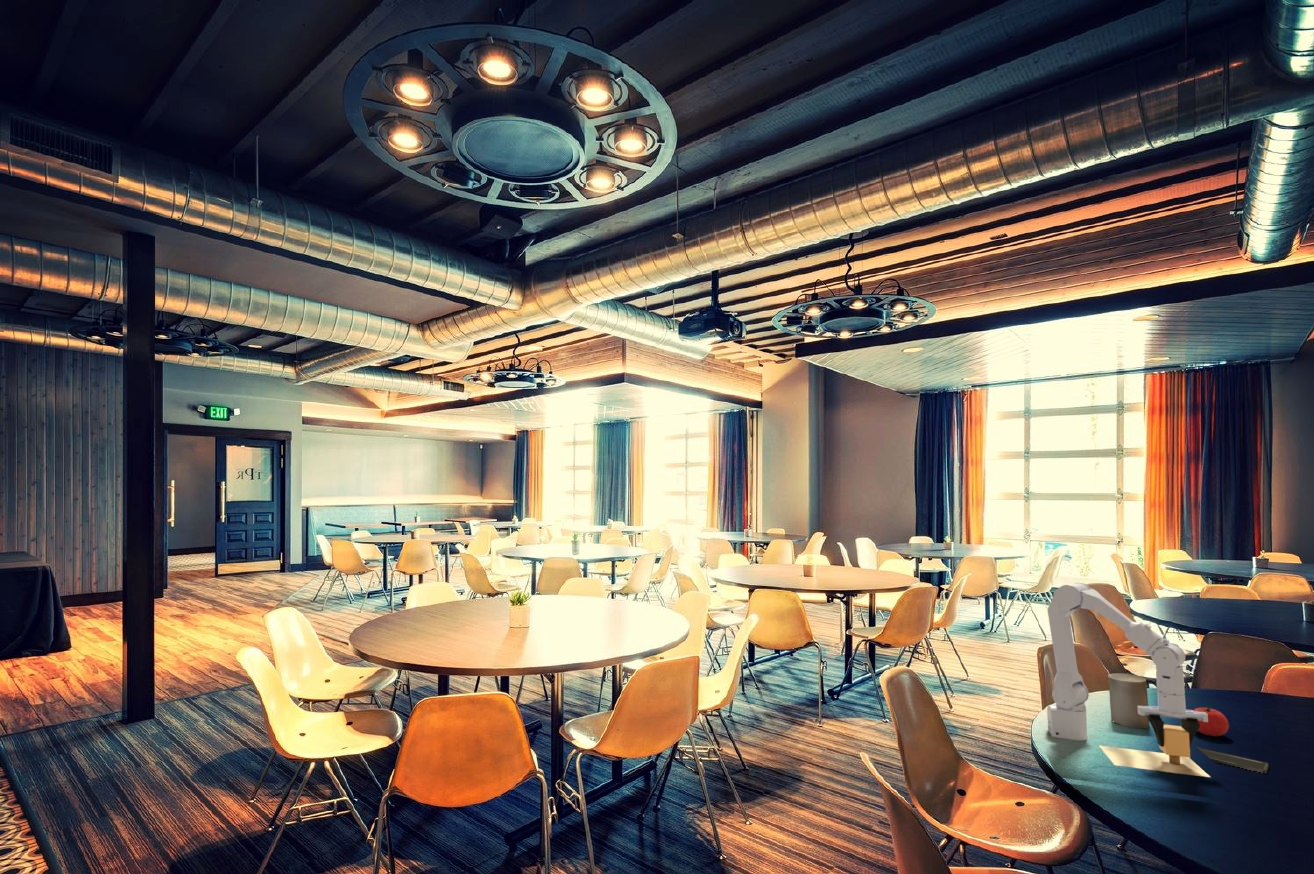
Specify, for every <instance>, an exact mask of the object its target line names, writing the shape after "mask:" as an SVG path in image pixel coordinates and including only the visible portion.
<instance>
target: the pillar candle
mask: <svg viewBox="0 0 1314 874" xmlns="http://www.w3.org/2000/svg"><path fill="white" fill-rule="evenodd" d="M1107 676H1108V688H1109V690H1108V691H1109V707H1110V709H1109V710H1110V718H1111V719H1110V720H1111V722H1112V721H1114V722H1116V723H1115V724H1117V723H1118V725H1121V726H1122V725H1123V727H1126V726H1127V727H1126V728H1133V729H1146V728H1150V725H1151V724H1150V721H1149V720H1148V718H1147V716H1146V715H1145V716H1142V715H1140V714H1138V709H1137V706H1149V698H1148V686H1147V685H1148V684H1147V679H1146V678H1145V677H1142V676H1139V675H1135V674H1131V673H1109V674H1108V675H1107ZM1114 722H1113V723H1114Z"/></svg>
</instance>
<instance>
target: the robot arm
mask: <svg viewBox="0 0 1314 874" xmlns="http://www.w3.org/2000/svg"><path fill="white" fill-rule="evenodd" d="M1047 607H1048V608H1047V615H1048V622H1049V629H1050V634H1051V643H1052V648H1053V655H1054V661H1055V663H1054V664H1055V669H1056V673H1055V675H1054V676H1055V677H1054V679H1053V689H1052V692H1051V694H1052V699H1053V701H1054V702H1055V704H1048V705H1047V712H1046V713H1047V730H1048V732H1049V734H1050V736H1051V737H1052V738H1059V739H1066V740H1071V741H1086V740H1088V728H1087V726H1088V725H1087V710H1086V709H1087V706H1086V705H1085V702H1087V701H1088V699H1089V698H1090V697H1089V696H1090V695H1089V694H1090V693H1089V689H1088V688H1087V686H1086V685H1085V682H1084V678H1083V676H1082V675H1081V673H1079V670H1078V664H1077V658H1076V657H1077V656H1076V651H1075V644H1074V638H1073V631H1072V625H1071V619H1070V618H1071V617H1070V616H1071V615H1072V614H1073V613H1074V612H1076V611H1077V610H1078V608H1080V609H1083V610H1090V611H1095V612H1097V613H1099V614H1100V615H1101V616H1103V617H1104V618H1105V619H1107V620H1109V621H1110V622H1111V623H1113V625H1116V626H1117V627H1119V629H1121V630H1123V632H1124V635H1125V638H1126V639H1127V640H1129V641H1130V642H1131V643H1132V644H1134V645H1135V646H1136V647H1138V648H1139V649H1140V650H1142V651H1143V652H1144V653H1145V654H1146V655H1147V656H1150V657H1151V661H1152V662H1153V664H1154V665H1155V670H1156V672H1155V677H1156V679H1155V680H1156V695H1157V696H1156V697H1157V699H1156V700H1157V705H1148V706H1137V709H1138V714H1140V715H1142V716H1145V715H1146V716H1147V718H1148V720H1149V724H1150V725H1151V727H1152V730H1153V731H1154V734H1155V737H1156V741H1157V744H1158V746H1159V745H1160V746H1162V747H1164V737H1163V727H1164V725H1165V722H1164V721H1163V720H1162V719H1163V718H1169V719H1170V718H1172V719H1180V721H1181V727H1182V728H1183V729H1185V730H1186V731H1187V732H1188V733H1189V744H1190V750H1191V749H1192V744H1193V740H1194V737H1195V735H1196V733H1197V732H1198V729H1199V727H1200V723H1199V722H1198V720H1199V721H1203V722H1208V714H1206V713H1205V712H1199V711H1193V710H1194V709H1193V710H1192V709H1187V706H1186V692H1185V691H1186V690H1185V676H1184V666H1183V664H1184V663H1185V662H1186V657H1187V656H1186V653H1185V651H1184V650H1183V648H1181V647H1180V646H1179V645H1178V644H1177V643H1173V642H1170V640H1169V639H1168V638H1164V637H1162V636H1161V635H1159V634H1158V633H1156V632H1155V631H1154V630H1153V629H1152V626H1151V625H1149V624H1148V623H1145V624H1144V623H1143V622H1141V621H1133V620H1132V619H1131V618H1130V617H1128V616H1126V615H1125V614H1124V613H1123V612H1122V611H1121V610H1119V609H1118V608H1117V607H1116V606H1114V605H1113V604H1112V603H1111V602H1109V601H1108V600H1107V599H1106V598H1105V597H1103V596H1102V594H1100V593H1099V591H1097V590H1095V589H1093V588H1091V587H1090V586H1089V585H1088V584H1087V583H1085V582H1074V583H1071V584H1070V583H1069V584H1063V585H1061V586H1060V587H1058V588H1057V589H1055V590H1054V591H1053V596H1052V599H1051V601H1050V603H1049V605H1048V606H1047Z"/></svg>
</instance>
